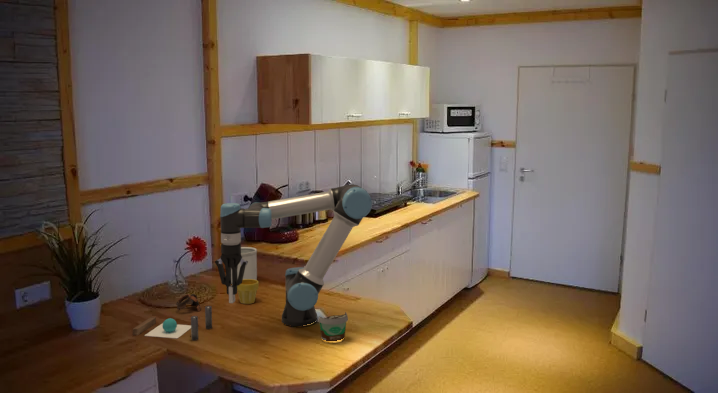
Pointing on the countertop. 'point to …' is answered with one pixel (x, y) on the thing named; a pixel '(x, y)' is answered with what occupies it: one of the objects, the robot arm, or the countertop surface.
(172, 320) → the ball
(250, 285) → the plant pot
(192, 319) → the post
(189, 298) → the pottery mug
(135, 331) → the wall
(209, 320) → the post
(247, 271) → the utensil holder
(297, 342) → the countertop surface
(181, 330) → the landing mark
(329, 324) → the food container
